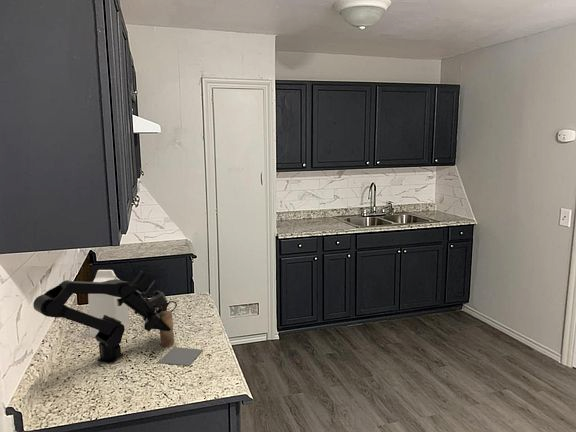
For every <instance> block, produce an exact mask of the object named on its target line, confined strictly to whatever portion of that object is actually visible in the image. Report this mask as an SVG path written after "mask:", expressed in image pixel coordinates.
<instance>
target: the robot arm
mask: <svg viewBox="0 0 576 432" xmlns="http://www.w3.org/2000/svg"><path fill="white" fill-rule="evenodd" d="M118 279H119V278H118ZM118 279H114V280H108V281H105V282H93V281H80V280H79V281H71V280H68V279H67V280H64V281H62V282H61V283H59V284H57V285H56V286H55V287H52V288H50V289H48V290H47V291H46V292H44V293H43V294H41V295H39V296H37V297H36V298H35V299H34V301H33V303H32V306H33V309H34V310H35V311H36V312H38V313H40V314H41V315H43V316H45V317H48V318H56V319H57V318H58V319H60V318H61V319H66V320H70V321H72V322H75V323H77V324H80V325H84V326H87V327H89V328H90V327H92V328H94V329H97V330H98V331H99V332H98V333H97V335H96V336H94V338H95V340H96V341H97V342H99V343H98V349H99V351H98V352H99V358H98V359H97V362H102V363H108V364H109V363H110V364H113V363H115V362H116V361H117V360H119V359H120V358H122V356H123V355H124V353H123V352H122V348H121V345H120V344H121V343H122V340H123V339H122V338H123V336H124V333H125V331H126V330H125V328H124V325H123V324H121V321H119V320H117V319H115V318H113V317H108V316H106V315H104V316H103V318H97V317H94V316H92V315H89V313H86V312H84V311H81V310H78V309H75V308H72V307H69V306H67V305H66V303H67V302H68V300H69V299H70V298H71V296H72V295H73V294H75V295H76V294H78V295H79V294H82V295H88V294H107V295H111V296H115V297H120V299H117V306H121V305H122V304H123V303H124V304H126V305H127V306H128V308H130V309H131V310H132V311H134V312H133V313H134V315H139V316H140V317H142V318H143V319H142V320H143V321H144V323H143V324H144V326H143V328H144V330H146V331H147V332H150V331H151V330H158V331H160V330H164V331H170V330H171V329H170V327H169V326H168V325H167V324H166V323H165V322H164V321H163V320H162V315H159V313H160V312H162V306H161V307H160V308H157V307H158V306H160V305H161V304H164V303H166V297H167V296H166V295H165V293H164V292H163V291H160V290H158V289H157V290H155V291H153V295H152V297H150V298H148V297H143V296H142V294H144V295H145V294H147V293H148V291H149V290H150V288H151V287H152V286H153V285H154V283H155V281H156V280H155V278H153V277H151V276H149V274H146V273H145V272H144V271H142V270H140V271H139V272H138V274H137V276H136V277H135V278H134V280H133V281H126V280H125V281H124V280H121V279H120V280H118ZM124 330H125V331H124Z"/></svg>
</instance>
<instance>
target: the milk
mask: <svg viewBox="0 0 576 432" xmlns="http://www.w3.org/2000/svg"><path fill="white" fill-rule="evenodd" d="M114 279H118V280H121V279H120V278H118V277H117V275H116V274H115V272H114V270H113V269H98V270H97V272H96V274H95V278H94V279H93V281H92V282H105V281H108V280H114ZM117 299H120V297H115V296H111V295H107V294H87V301H88V314H89V315H92V316H94V317H97V318H103V316H104V315H106V316H108V317H113V318H115V319H117V320H119V321H121V324H123V325H124V328H125V330H124V332H125V331H126V330H127V329H128V328H130V326H132V325H131V319H130V317H131V316H130V312H129V307H128V306H127V305H126V304H124V303H123V304H122V305H121V306H117ZM98 332H99V331H98V330H97V329H94V328H92V327H89V337H95V336H96V335H97V333H98Z"/></svg>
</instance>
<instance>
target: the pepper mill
mask: <svg viewBox="0 0 576 432" xmlns="http://www.w3.org/2000/svg"><path fill="white" fill-rule="evenodd" d="M159 315H162V320H163V321H164V322H165V323H166V324H167V325H168V326H169V327H170V329H171V330H170V331H164V330H159V339H160V340H159V341H160V346H161V347H163V348H168V347H171V346H174V345H175V337H174V323H173V311H172V312H171V310H167V311H163V312H160V313H159Z"/></svg>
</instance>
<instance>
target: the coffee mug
mask: <svg viewBox="0 0 576 432" xmlns="http://www.w3.org/2000/svg"><path fill="white" fill-rule="evenodd" d="M165 297H166V303H164V304H161V305H160V306H158V307H157V308H160V307H161V306H162V312H163V311H168V306H169V304H171V303H174V304H175V307H173V309H171V310H170V311H171V312H172V313H173V312H174V311H175V310H176V308H178V307H177V305H178V304H177V302H176V301H173V300H169V301H168V297H167V296H165Z"/></svg>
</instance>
